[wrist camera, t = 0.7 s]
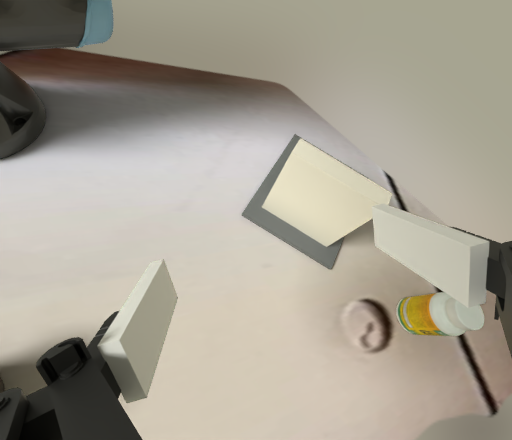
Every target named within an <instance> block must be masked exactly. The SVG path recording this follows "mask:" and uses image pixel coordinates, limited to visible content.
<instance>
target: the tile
mask: <svg viewBox="0 0 512 440" xmlns="http://www.w3.org/2000/svg"><path fill="white" fill-rule="evenodd" d="M391 196H392V193H391V192H389V191H387V190H386V189H384V188H382V187H381V186H379V185H377V184H376V183H374V182H372V181H371V180H369V179H367V178H366V177H364V176H362V175H361V174H359V173H357V172H356V171H354V170H353V169H351V168H349V167H348V166H346V165H344V164H343V163H341V162H339V161H338V160H336V159H334V158H333V157H331V156H329V155H328V154H326V153H324V152H323V151H321V150H319V149H318V148H316V147H314V146H313V145H311V144H309V143H308V142H306V141H304V140H303V139H301V138H300V140H299V141H298V143H297V144H296V146H295V147H294V149H293V151H292V152H291V154H290V156H289V158H288V160H287V161H286V163H285V165H284V167H283V169H282V171H281V172H280V174H279V176H278V178H277V180H276V182H275V183H274V185H273V187H272V189H271V191H270V193H269V194H268V196H267V198H266V200H265V202H264V204H263V205H262V208H264V209H265V210H267V211H269V212H270V213H272V214H273V215H275V216H277V217H278V218H280V219H282V220H283V221H285V222H287V223H288V224H290V225H291V226H293V227H295V228H296V229H298V230H300V231H301V232H303V233H304V234H306V235H308V236H309V237H311V238H313V239H314V240H316V241H318V242H319V243H321V244H322V245H324V246H326V247H327V246H329V245H331V244H332V243H334V242H335V241H337V240H339V239H340V238H342V237H343V236H345V235H347V234H348V233H350V232H352V231H353V230H355V229H356V228H358V227H360V226H361V225H363V224H364V223H366V222H368V221H369V220H371V219H372V218H373V215H372V206H375V205H379V204H386V205H389V202H390V199H391Z"/></svg>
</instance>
